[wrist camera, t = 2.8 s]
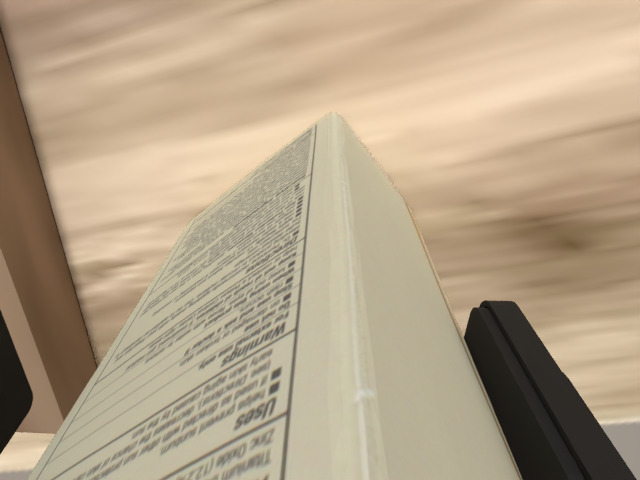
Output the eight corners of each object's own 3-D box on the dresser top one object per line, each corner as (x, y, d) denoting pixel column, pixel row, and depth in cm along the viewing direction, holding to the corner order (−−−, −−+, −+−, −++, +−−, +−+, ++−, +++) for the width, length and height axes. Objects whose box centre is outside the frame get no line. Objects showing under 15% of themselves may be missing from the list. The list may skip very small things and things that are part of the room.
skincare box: (271, 304, 16) (158, 930, 5) (181, 217, 14) (-248, 879, 4) (421, 208, 14) (717, 902, 3) (336, 94, 12) (389, 761, 2)
